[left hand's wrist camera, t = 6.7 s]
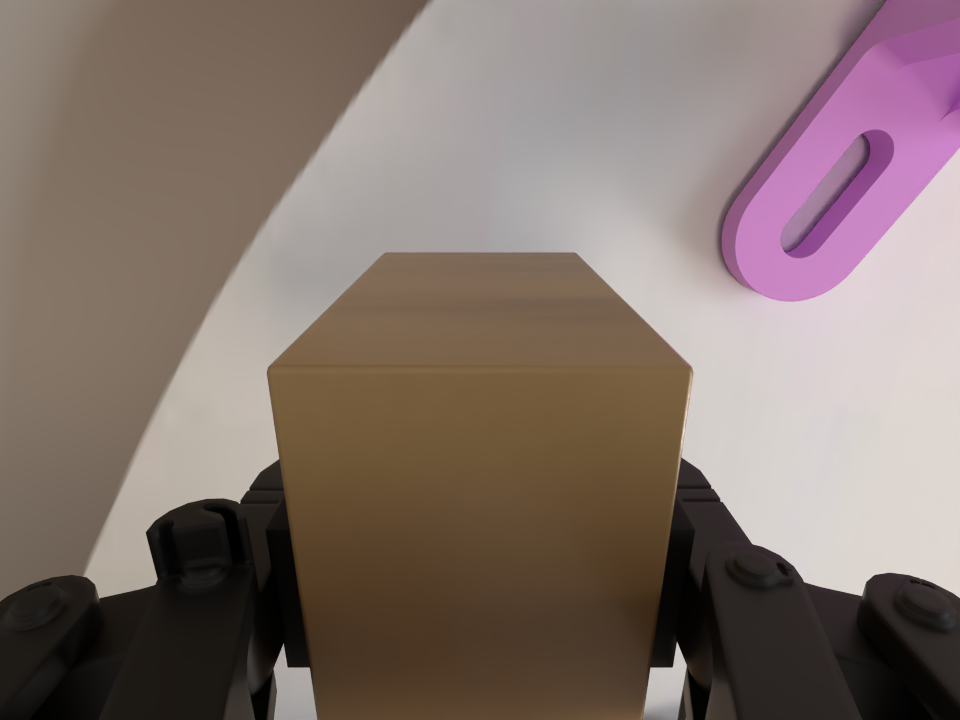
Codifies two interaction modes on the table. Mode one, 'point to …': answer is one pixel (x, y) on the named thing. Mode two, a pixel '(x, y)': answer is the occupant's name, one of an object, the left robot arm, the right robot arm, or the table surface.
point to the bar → (480, 489)
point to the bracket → (826, 136)
